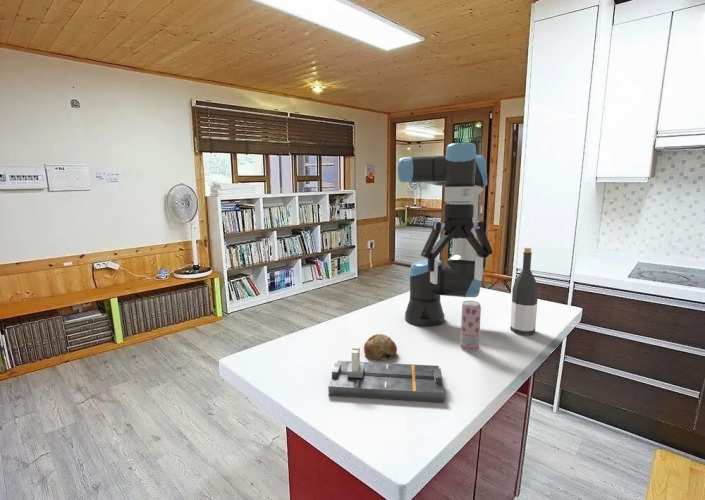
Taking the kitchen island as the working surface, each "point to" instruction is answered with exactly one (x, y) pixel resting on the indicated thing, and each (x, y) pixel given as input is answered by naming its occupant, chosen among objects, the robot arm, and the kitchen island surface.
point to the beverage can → (470, 326)
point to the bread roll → (380, 347)
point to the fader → (355, 364)
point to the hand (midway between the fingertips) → (456, 281)
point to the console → (389, 382)
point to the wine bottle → (524, 299)
